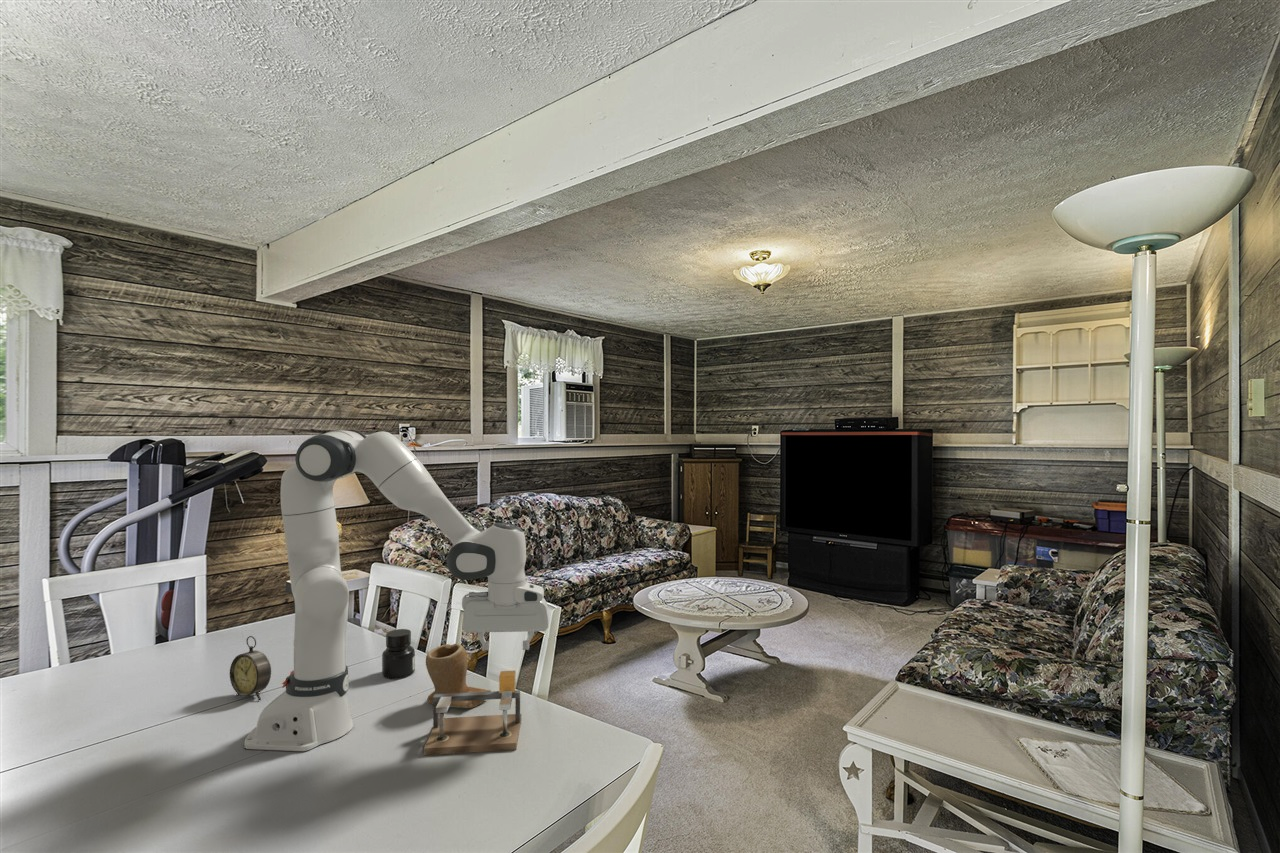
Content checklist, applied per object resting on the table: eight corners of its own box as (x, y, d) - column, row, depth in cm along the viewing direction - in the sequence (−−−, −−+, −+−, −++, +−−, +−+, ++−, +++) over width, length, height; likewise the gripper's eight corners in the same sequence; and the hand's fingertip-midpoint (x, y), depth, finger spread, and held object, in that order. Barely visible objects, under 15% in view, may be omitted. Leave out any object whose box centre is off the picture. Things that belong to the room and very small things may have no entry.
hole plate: (423, 755, 135) (423, 715, 135) (437, 724, 149) (437, 688, 149) (516, 749, 138) (516, 710, 138) (521, 719, 151) (521, 684, 151)
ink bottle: (422, 672, 181) (421, 631, 181) (396, 682, 174) (395, 640, 174) (401, 665, 186) (400, 625, 186) (374, 675, 179) (374, 634, 179)
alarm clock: (228, 697, 165) (227, 636, 165) (247, 689, 170) (247, 630, 170) (256, 704, 161) (256, 642, 161) (275, 695, 166) (275, 635, 166)
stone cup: (415, 708, 158) (415, 650, 158) (446, 690, 169) (446, 635, 169) (464, 719, 152) (463, 658, 152) (492, 699, 163) (492, 642, 163)
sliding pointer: (496, 734, 140) (496, 685, 140) (500, 717, 148) (500, 671, 148) (512, 733, 141) (512, 684, 141) (515, 716, 149) (515, 670, 149)
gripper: (459, 595, 143) (458, 655, 143) (548, 594, 145) (547, 653, 145) (464, 588, 149) (463, 646, 149) (549, 587, 151) (548, 644, 151)
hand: (505, 649), depth 147 cm, fingers open, 8 cm apart
